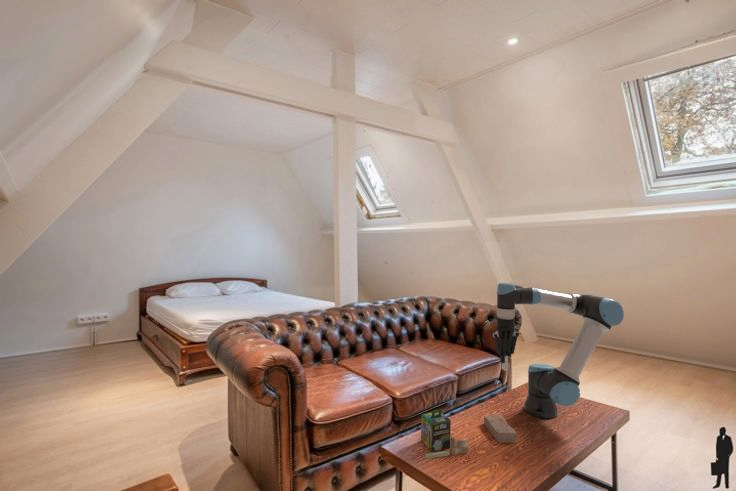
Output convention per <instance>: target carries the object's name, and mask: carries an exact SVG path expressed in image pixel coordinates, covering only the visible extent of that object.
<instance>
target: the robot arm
mask: <svg viewBox="0 0 736 491" xmlns="http://www.w3.org/2000/svg"><path fill="white" fill-rule="evenodd" d="M496 289H497V290H496V296H497V297H496V298H497V299H496V305H497V306H496V316H497V317H496V326H497V327H496V330H495V332H492V333H491V336H492V337H493V338H492V339H493V342H494V346H495V352H496V354H498V355H499V356H500V357H499V358H500V360H499V361H500V363H501V370H503V371H504V372H509V363H510V361H511V360H510V358H511V357H512V355H514V354H515V349H516V344H517V341H518V338H519V335H520V333H519V332H517V331H515V323H516V322H515V317H516V312H515V311H516V310H515V309H516V305H531V306H533V305H539V306H542V307H543V306H544V307H549V308H554V309H559V310H564V311H565V312H566V313H571V314H573V315H577V316H580V317H582V320H583V324H582V326H581V328H580V329H579V331H578V333H577V335H576V337H575V338H574V340H573V342H572V344H571V345H570V347H569V350H567V352H566V355H565V357H564V358H563V360H562V362H561V364H560V365H559V366H556V367H554V366H553V365H551V364H550V365H549V364H544V363H533V364H530V365H529V366H528V370H527V373H528V374H527V375H528V376H527V377H528V379H527V380H528V382H527V383H528V384H527V385H528V386H527V395H526V398H525V401H524V403H523V409H524V411H525V412H526V413H527V414H529V415H531V416H534V417H537V418H541V419H554V418H557V417H558V414H559V412H558V408H557V405H559V406H562V407H571V406H574V405H575V404H576V403H577V402H578V401H579V399H580V397H581V390H580V388H579V386H580V385H581V380H580V376H581V374H582V373H583V370H584V369H585V367H586V365H587V363H588V362H589V360H590V358H591V356H592V355H593V354H594V351H595V349H596V347H597V346H598V344H599V342H600V340H601V339H602V336H603V335H604V333H606V332H610V330H611V328H612V327H614V326H615V327H616V326H618V325H620V324H621V323H622V321H623V320H624V316H625V312H624V309H623V306H622V305H621V303H620V302H618V301H617V300H615V299H611V298H610V297H603V296H597V295H593V294H582V293H581V294H579V293H573V292H572V293H571V292H569V293H567V294H566V293H559V292H556V291H555V292H554V291H550V290H544V289H539V288H537V287H533V286H531V287H529V286H522V285H516V284H515V283H512V282H511V283H510V282H500V283H498V284H497V288H496ZM556 404H557V405H556Z"/></svg>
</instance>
